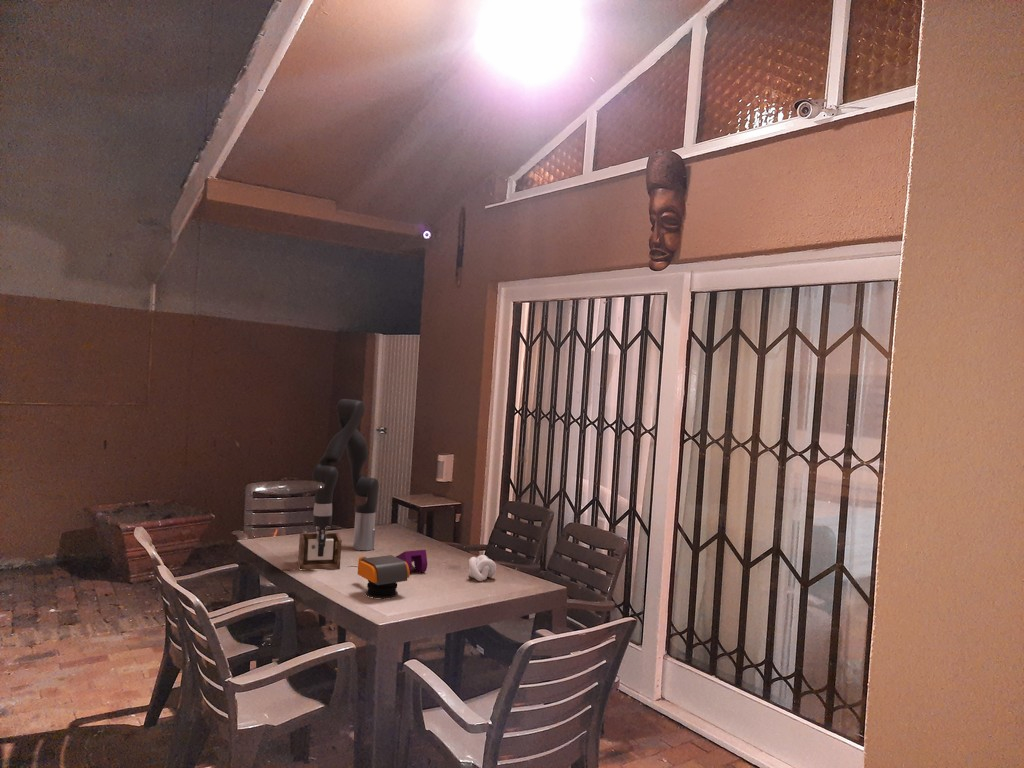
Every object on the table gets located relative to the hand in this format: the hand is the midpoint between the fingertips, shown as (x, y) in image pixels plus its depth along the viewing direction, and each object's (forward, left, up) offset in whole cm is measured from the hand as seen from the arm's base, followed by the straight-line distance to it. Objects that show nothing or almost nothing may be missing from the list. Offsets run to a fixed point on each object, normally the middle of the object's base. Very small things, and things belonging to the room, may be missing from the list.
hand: (320, 555), depth 287 cm
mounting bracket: (-36, +6, -6) cm, 37 cm away
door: (0, 0, -2) cm, 2 cm away
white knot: (-62, +24, -5) cm, 67 cm away
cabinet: (0, -4, -5) cm, 6 cm away
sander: (-18, +34, -5) cm, 39 cm away
